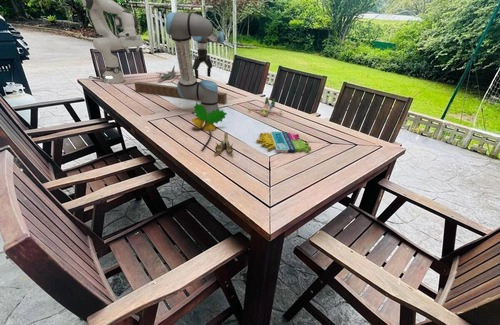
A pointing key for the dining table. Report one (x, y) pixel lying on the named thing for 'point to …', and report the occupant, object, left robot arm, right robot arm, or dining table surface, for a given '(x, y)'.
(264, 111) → the toy
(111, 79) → the left robot arm
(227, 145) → the jawbone
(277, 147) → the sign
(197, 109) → the ornament
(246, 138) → the dining table surface
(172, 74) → the airplane
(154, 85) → the bar
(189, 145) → the dining table surface
